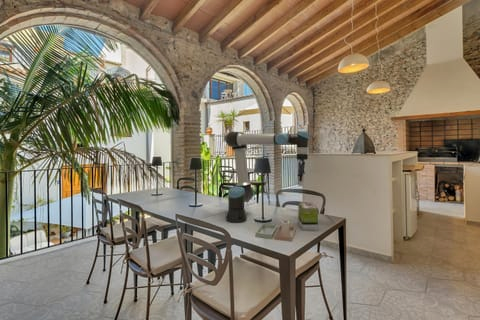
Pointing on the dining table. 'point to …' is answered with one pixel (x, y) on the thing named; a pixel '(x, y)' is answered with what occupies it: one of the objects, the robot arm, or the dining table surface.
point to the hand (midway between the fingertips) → (301, 184)
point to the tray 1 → (265, 233)
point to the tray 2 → (287, 238)
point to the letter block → (285, 228)
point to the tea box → (308, 216)
